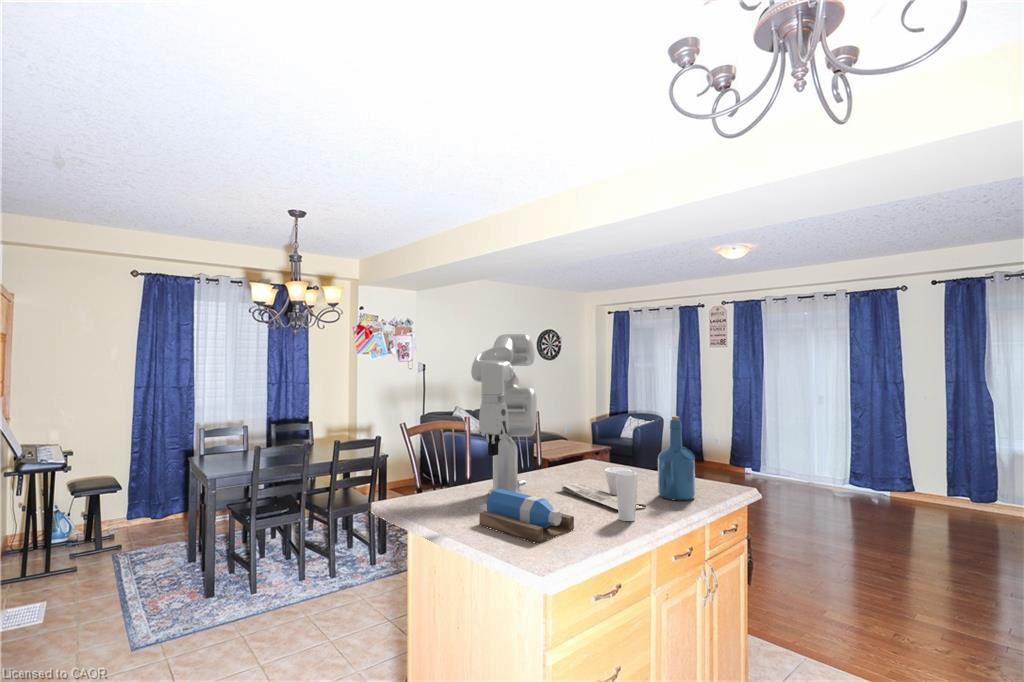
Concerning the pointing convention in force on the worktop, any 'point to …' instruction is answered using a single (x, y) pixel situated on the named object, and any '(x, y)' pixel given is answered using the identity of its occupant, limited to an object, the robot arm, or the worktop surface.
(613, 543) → the worktop surface
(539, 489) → the worktop surface
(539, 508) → the water bottle
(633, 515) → the drinking glass
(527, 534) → the u rest
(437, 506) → the worktop surface
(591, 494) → the newspaper
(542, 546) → the worktop surface
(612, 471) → the cup
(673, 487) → the wine bottle
